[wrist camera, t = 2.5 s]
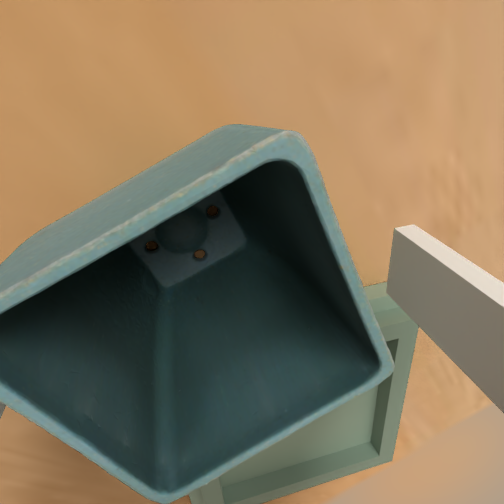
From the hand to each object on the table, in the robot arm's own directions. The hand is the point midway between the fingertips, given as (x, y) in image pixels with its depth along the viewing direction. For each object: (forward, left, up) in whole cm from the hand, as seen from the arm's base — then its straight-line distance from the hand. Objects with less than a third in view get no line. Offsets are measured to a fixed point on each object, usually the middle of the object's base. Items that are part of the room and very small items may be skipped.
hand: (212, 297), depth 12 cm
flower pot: (0, 0, -6) cm, 6 cm away
